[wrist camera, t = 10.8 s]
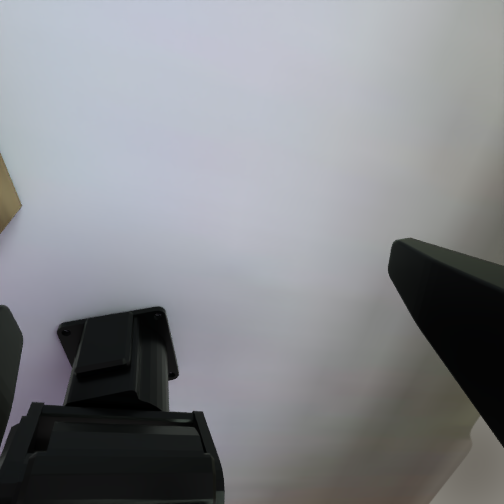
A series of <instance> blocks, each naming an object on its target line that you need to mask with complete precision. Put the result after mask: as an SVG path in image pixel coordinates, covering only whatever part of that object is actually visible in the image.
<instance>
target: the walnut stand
mask: <svg viewBox="0 0 504 504" xmlns="http://www.w3.org/2000/svg"><path fill="white" fill-rule="evenodd" d="M21 206H22V205H21V202H20V200H19V197H18V195H17V192H16V190H15V187H14V185H13V183H12V180H11V178H10V175H9V173H8V170H7V168H6V165H5V163H4V161H3V158H2V156H1V153H0V234H1V232H2V231H3V230H4V229H5V227H6V226H7V225H8V223H9V222H10V221H11V219H12V218H13V217H14V216H15V214H16V213H17V212H18V210H19V209H20V208H21Z"/></svg>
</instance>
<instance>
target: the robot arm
mask: <svg viewBox="0 0 504 504" xmlns="http://www.w3.org/2000/svg"><path fill="white" fill-rule="evenodd" d="M388 273H389V276H390V278H391V280H392V282H393V284H394V285H395V287H396V289H397V291H398V293H399V294H400V296H401V298H402V300H403V302H404V303H405V305H406V307H407V309H408V311H409V312H410V314H411V316H412V318H413V319H414V321H415V323H416V324H417V326H418V327H419V329H420V330H421V332H422V333H423V335H424V336H425V337H426V339H427V340H428V342H429V343H430V344H431V346H432V347H433V349H434V350H435V351H436V353H437V354H438V356H439V357H440V359H441V360H442V361H443V363H444V364H445V366H446V367H447V368H448V370H449V371H450V373H451V374H452V375H453V377H454V378H455V380H456V381H457V382H458V384H459V385H460V387H461V388H462V390H463V391H464V392H465V394H466V395H467V397H468V398H469V399H470V401H471V402H472V404H473V405H474V406H475V408H476V409H477V411H478V412H479V414H480V415H481V416H482V418H483V419H484V421H485V422H486V423H487V425H488V426H489V428H490V429H491V430H492V432H493V433H494V435H495V436H496V437H497V439H498V440H499V442H500V443H501V444H502V446H503V447H504V266H502V265H499V264H496V263H492V262H489V261H486V260H483V259H479V258H476V257H473V256H469V255H466V254H463V253H459V252H456V251H453V250H449V249H446V248H443V247H440V246H436V245H433V244H430V243H426V242H423V241H420V240H416V239H413V238H405V239H399V240H395V241H394V242H393V244H392V247H391V253H390V258H389V264H388ZM155 314H161V315H159V316H156V315H155ZM64 330H69V332H66V331H64ZM57 335H58V337H59V339H60V341H61V344H62V346H63V348H64V351H65V353H66V355H67V357H68V360H69V362H70V364H71V366H72V371H71V375H70V379H69V383H68V387H67V391H66V395H65V399H64V403H63V406H58V405H44V403H40V402H32V404H31V406H30V409H29V411H28V414H27V416H22V418H21V421H20V423H19V424H17V425H15V426H13V427H11V430H10V433H9V435H8V438H7V441H6V443H5V446H4V449H3V451H2V454H1V456H0V504H224V492H225V491H224V478H223V471H222V467H221V463H220V460H219V457H218V454H217V451H216V448H215V446H214V443H213V440H212V437H211V434H210V431H209V428H208V426H207V423H206V420H205V417H204V414H203V412H201V411H193V412H192V413H187V412H169V390H168V381H169V380H173V379H176V378H177V377H178V376H179V370H178V365H177V360H176V356H175V351H174V347H173V342H172V337H171V333H170V328H169V324H168V319H167V315H166V311H165V309H164V308H163V307H152V308H146V309H140V310H134V311H129V312H123V313H117V314H111V315H105V316H99V317H94V318H88V319H82V320H76V321H70V322H65V323H62V324H61V325H59V328H58V331H57ZM22 347H23V336H22V332H21V330H20V328H19V326H18V324H17V322H16V321H15V319H14V317H13V315H12V313H11V311H10V309H9V308H8V307H7V306H5V305H0V446H1V443H2V439H3V436H4V433H5V429H6V426H7V423H8V419H9V416H10V412H11V408H12V403H13V399H14V393H15V387H16V382H17V376H18V370H19V364H20V358H21V352H22Z"/></svg>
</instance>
